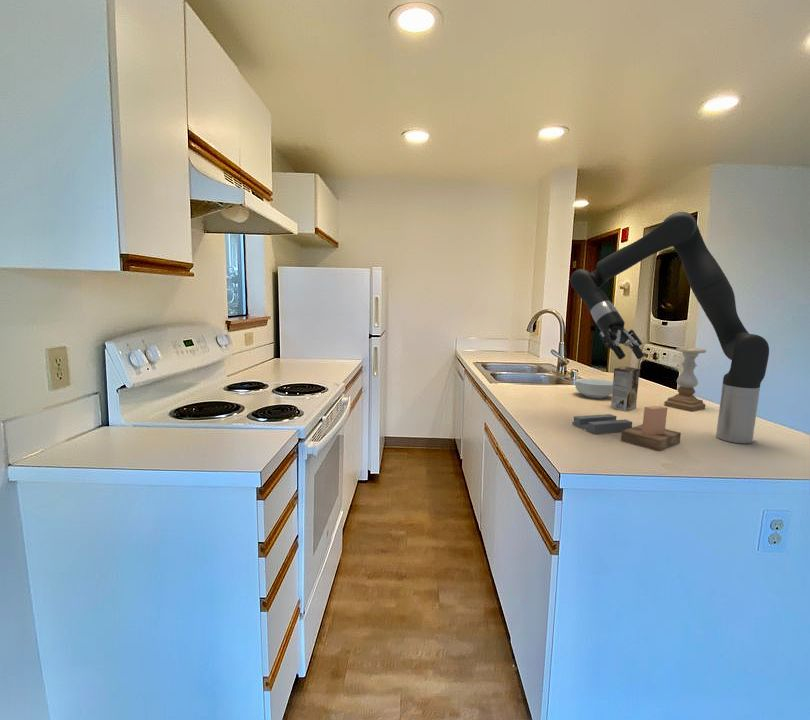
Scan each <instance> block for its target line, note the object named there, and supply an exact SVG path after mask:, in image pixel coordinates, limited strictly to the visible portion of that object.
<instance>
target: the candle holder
mask: <svg viewBox="0 0 810 720" xmlns="http://www.w3.org/2000/svg"><path fill="white" fill-rule="evenodd" d="M675 350H676V351H677V352H680V353H682V356H683V358H684V361H682V363H681V366H682V368H683V371H682V372H681V374H680V375H679V376H678V377H677V379H676V383H677V385H679V387H678V388H677V392H678V393H677V394H675V395H673V396H671V397H668V398H667V400H665V401H664V403H663V407H667V408H672V409H677V410H683V411H686V412H687V411H688V412H697V411H700V410H701V411H702V410H705V409H706V404H705V403H704V402H703V399H699V398H697V397H696V396H694V395H695V394H696V390H695V389H694V388H695V387H697V386H698V385H699V380H698V379H697V377H696V374H695V372H694V369H696V367H697V366H698V364H696V358H697V357H699V355H700V354H706V352H707V350H706V349H704V348H693V347H676V348H675Z"/></svg>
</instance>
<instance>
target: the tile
mask: <svg viewBox="0 0 810 720" xmlns="http://www.w3.org/2000/svg"><path fill="white" fill-rule="evenodd" d="M667 414H668V407H667V406H664V405H655V406H653V405H652V406H644V409H643V418H642V420H643V421H642V424H643V427H642V433H644V434H647V435H657V434H665V429H666V425H667V424H666V423H667Z"/></svg>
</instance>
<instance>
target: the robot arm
mask: <svg viewBox="0 0 810 720" xmlns="http://www.w3.org/2000/svg"><path fill="white" fill-rule="evenodd" d="M672 247H673V249H674V250H675V252H676V253H677V255H678V257H679V259H680V260H681V262H682V266H683V269H684V272H685V273H684V274H685V276H686V278H687V282H688V285H689V287H690V289H691V291H692V293H693V295H694V297H695V298H696V301H697V302H698V304H699V305H700V307H701V309H702V310H703V312H704V314H705V316H706V317H707V319H708V321H709V322H710V324H711V325H712V327H713V329H714V332H715V334H716V336H717V339H718V342H719V344H720V347H721V349H722V352H723V354H724V355H725V356H726V358H728V359H729V360H730V361H731V362H730V367H729V370H728V372H727V373H726V374H724V375H723V377H722V384H721V385H722V386H721V395H720V402H719V403H720V404H719V409H718V410H719V411H718V418H717V424H716V426H717V427H716V433H715V437H716V438H718V439H720V440H722V441H726V442H730V443H733V444H734V443H735V444H746V445H747V443H748V444H752V443H753V441H754V440H753V439H754V434H755V427H756V420H757V412H758V405H759V399H760V398H759V397H760V389H761V384H762V382H763V380H764V379H765V376H766V372H767V368H768V361H769V356H770V347H769V343H768V341H767V340H766V338H764V337H763V336H761V335H759V334H756V333H755V334H754V333H749V331H748V330H747V329H746V327H745V326H744V324H743V323H742V321H741V318H740V316H739V315H738V312H737V305H736V296H735V292H734V289H733V287H732V285H731V283H730V281H729V279H728V277H727V276H726V274H725V273H724V271H723V270H722V268H721V266H720V265H719V263H718V261H717V260H716V258H714V256H713V255H712V253H711V252H710V250H709V249H708V247H707V245H706V243H705V240H704V238H703V236H702V234H701V231H700V228H699V225H698V223H697V220H696V218H695V217H694V216H693V215H692V214H691V213H689V212H685V211H678V212H677V211H676V212H675V213H672V214H670V215H668V216H667V217H666V218H664V220H663V221H662V222H661V223H660V224H659V225H657V226H656V227H655V228H654V229H653V230H651V231H649V232H648V233H647V234H645V235H643V236H642V237H641V238H639V239H637V240H635V241H634V242H631V243H630V244H628V245H625V246H624V247H622V248H619V249H618V250H616V251H615V252H613V253H610V254H609V255H607V256H605V257H604V258H602V259H600V260H599V261H598V262H597V263H596V269H595V270H593V271H591V272H589V270H586V269H584V268H583V269H581V268H580V269H576V270H574V271H573V272H572V273H571V275H570V279H569V281H570V282H569V283H570V285H571V288H572V289H573V290H574V292H575V293H576V294H577V295H578V296H579V297H580V298H581V300H582V301H583V302H584V304H585V306H586V307H587V309H588V311H589V312H590V314H591V316H592V319H593V321H594V322H595V324H596V326H597V328H598V329H599V331H600V332H599V333H598V336H599V338H600V339H601V342H602V343H603V346H604V347H605V349H607V350H608V349H610V350H611V351H613V353H614V354H615V356H616V357H617V359H618V360H622V359H623V360H624V358H625V357H626V354H625V353H624V350H623V349H622V347H621V346H620V345H623V346H624V347H628V348H630V349H631V351H632V352H633V353H632V354H634V357H636V359H638V360H641V359H642V358H643V357H645V354H644V352H643V351H642V349H641V348H640V346H641V345H642V344H643V342H642V340H640V338H639V337H638V335H637V333H636V332H635V331H634V330H633V329H630V330H627V329H626V328H625V324H626V323H625V321H624V319H623V317H622V316H621V315H620V313H619V311H618V310H617V308H616V306H615V305H614V304H613V303H612V302H611V300H610V299H609V297H608V296H607V295H606V293H605V292H604V291H603V290H602V289H601V287H602V286H604V285H605V284H606V283H607V282H608V281H610V279H612V278H614V277H615V276H618V275H619V274H620V275H621V274H622V273H623V272H625V271H626V270H629V269H631V268H632V267H634V266H635V265H637V264H638V263H640V262H642V261H643V260H644V259H647V258H648V257H650V256H652V255H654V254H657V253H659V252H661V251H663V250H665V249H668V248H672Z"/></svg>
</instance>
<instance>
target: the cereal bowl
mask: <svg viewBox="0 0 810 720" xmlns="http://www.w3.org/2000/svg"><path fill="white" fill-rule="evenodd" d="M574 386H575V389H576V391H577V392H578V393H580V394H582V395H584V396H585V397H587V398H589V399H590V398H591V399H600V400H601V399H604V398H606V397H609V396H612V390H613V380H609V379H603V378H588V377H587V378H576V379H575V380H574Z"/></svg>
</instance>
